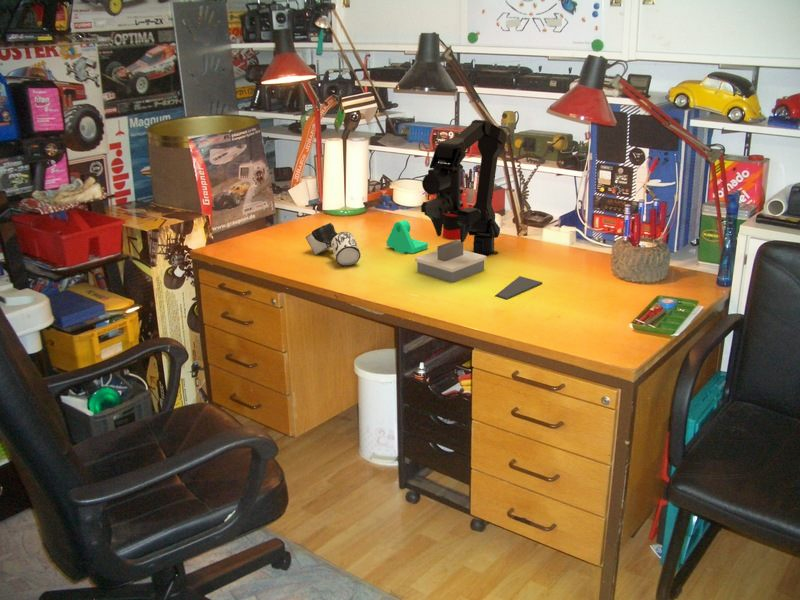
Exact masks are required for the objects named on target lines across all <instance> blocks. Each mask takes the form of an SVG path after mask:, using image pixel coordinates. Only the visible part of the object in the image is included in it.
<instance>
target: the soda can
mask: <svg viewBox="0 0 800 600" xmlns="http://www.w3.org/2000/svg"><path fill="white" fill-rule="evenodd" d="M460 203H463V201H462V200H460ZM465 208H466V205H465V204H464V203H463V207H461V208H460V209H465ZM457 221H459V219H458V218H457V215H453V214H449V213H447V214H444V218H443V226H442V237H443V238H444V239H446V240H451V241H455V240H460V225H459V224H458V223H457Z"/></svg>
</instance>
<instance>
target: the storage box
mask: <svg viewBox="0 0 800 600" xmlns="http://www.w3.org/2000/svg"><path fill="white" fill-rule="evenodd" d="M416 264H417V273H419V274H422V275H425V276H429V277H432V278H436V279H438V280H442V281H445V282H449V283H452V284H453V283H455V282H458V281H460V280H463V279H465V278H468V277H470V276H473V275H475V274H479V273H481V272H483V271H485V260H483V261H481V262H478V263H475V264H473V265H470V266H468V267H465V268H462V269H460V270H457V271H455V272H450V271H446V270H443V269H439V268H436V267H433V266H429V265H426V264H422V263H419V262H416Z"/></svg>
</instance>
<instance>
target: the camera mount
mask: <svg viewBox="0 0 800 600" xmlns="http://www.w3.org/2000/svg"><path fill="white" fill-rule="evenodd" d="M410 231H411V224H410V222H409V221H408V220H406V219H403V220H400V221H397V222H394V224H393V226H392V229H391V231H390V233H389V235H388V238H387V240H386V247H390V248H391V249H393V250H394V252H396V251H397V252H396V253H400V252H401V253H400V254H403V253H404V255H405V253H406V254H408V253H409V254H415V253H417V252H420V251H424V250H427V249H428V247H429V246H428V242H426V241H425V242H424V241H421V240H418V239H414V238H412V237H411V234H410Z"/></svg>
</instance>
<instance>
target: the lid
mask: <svg viewBox="0 0 800 600" xmlns="http://www.w3.org/2000/svg"><path fill="white" fill-rule="evenodd" d="M487 257H488V256H484V255H481V254H477V253H473V251H469V250H465V249H464V242H461V240H459V239H456V240H451V241H449V242H446V243H443V244H440V245H438V246H437V250H434V251H431V252H428V253H426V254H423V255H420V256H417V257H414V262H416V263H417V262H419V263H422V264H426V265H429V266H433V267H436V268H439V269H443V270H446V271H450V272H455V271H457V270H460V269H462V268H465V267H468V266H470V265H473V264H475V263H478V262H481V261H483V260H484V261H486V260H487Z"/></svg>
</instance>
